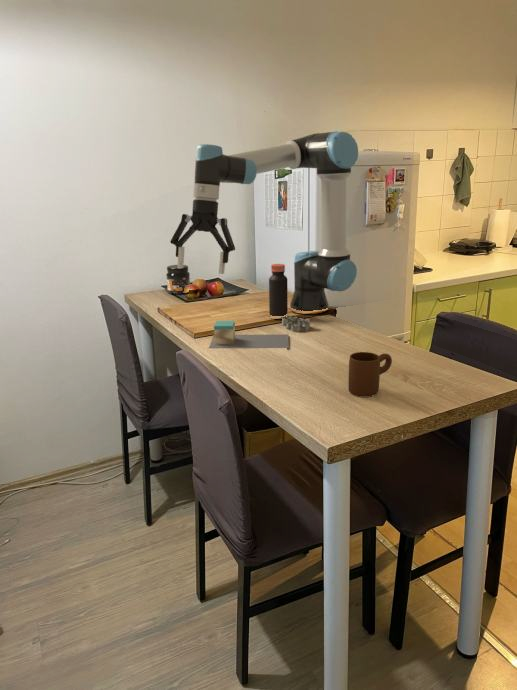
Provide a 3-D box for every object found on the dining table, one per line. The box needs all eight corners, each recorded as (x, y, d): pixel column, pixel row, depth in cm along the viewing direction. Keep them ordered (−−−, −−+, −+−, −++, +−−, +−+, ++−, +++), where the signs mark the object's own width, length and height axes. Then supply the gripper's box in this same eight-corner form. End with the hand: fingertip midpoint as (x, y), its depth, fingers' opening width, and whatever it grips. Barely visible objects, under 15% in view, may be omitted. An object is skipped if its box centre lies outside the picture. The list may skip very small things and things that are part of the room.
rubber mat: (288, 336, 182) (288, 334, 182) (288, 349, 169) (288, 347, 169) (214, 336, 183) (214, 334, 183) (208, 349, 170) (208, 348, 170)
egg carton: (312, 331, 188) (312, 319, 187) (292, 333, 186) (292, 322, 184) (298, 323, 198) (298, 312, 196) (279, 325, 195) (279, 314, 194)
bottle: (267, 319, 202) (266, 266, 196) (272, 315, 208) (271, 263, 202) (285, 320, 200) (284, 266, 194) (289, 316, 206) (289, 263, 200)
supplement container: (163, 294, 246) (161, 268, 242) (174, 289, 255) (172, 264, 252) (184, 295, 243) (182, 268, 239) (194, 290, 252) (193, 264, 248)
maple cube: (235, 338, 179) (234, 320, 177) (233, 344, 173) (232, 326, 171) (217, 338, 179) (216, 320, 177) (214, 344, 174) (214, 326, 172)
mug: (380, 380, 143) (382, 347, 140) (399, 391, 137) (401, 355, 134) (342, 389, 138) (343, 354, 135) (359, 400, 132) (361, 363, 129)
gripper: (162, 195, 161) (158, 266, 166) (241, 202, 155) (235, 276, 160) (172, 196, 168) (168, 265, 173) (249, 204, 162) (242, 274, 167)
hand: (200, 271), depth 167 cm, fingers open, 13 cm apart
